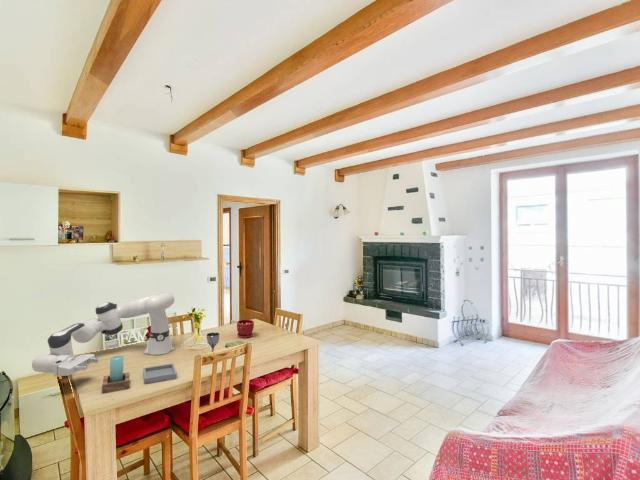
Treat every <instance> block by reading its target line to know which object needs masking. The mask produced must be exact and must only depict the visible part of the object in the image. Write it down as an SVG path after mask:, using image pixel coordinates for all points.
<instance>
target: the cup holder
mask: <svg viewBox="0 0 640 480" xmlns="http://www.w3.org/2000/svg"><path fill="white" fill-rule="evenodd" d="M130 378H131V377H130V372H123V381H117V382H111V383H110V374H109V375H105V376H103V380H102V385H101V393H102V394H106V393H107V394H108V393H111V392H117V391H123V390H129V389H130V387H131V386H130V383H131V382H130Z"/></svg>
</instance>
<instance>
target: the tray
mask: <svg viewBox="0 0 640 480" xmlns="http://www.w3.org/2000/svg"><path fill="white" fill-rule="evenodd" d="M142 372H143V374H142V375H143V383H144V385H149V384H154V383H160V382H164V381H165V382H166V381H172V380H176V378H178V376H177V373H178V372H177V370H176V367H175V364H174V363H167V364H162V365H161V364H160V365H154V366H147V367H143V371H142ZM171 379H172V380H171Z"/></svg>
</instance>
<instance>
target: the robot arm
mask: <svg viewBox="0 0 640 480" xmlns="http://www.w3.org/2000/svg"><path fill="white" fill-rule="evenodd" d="M173 304H175V296H174V295H173V294H172V293H171V292H161V293H157V294H154V295H150V296H147V297H143V298H137V299H134V300H131V301H127V302H124V303H122V304H119V305H118V304H117V303H113V302H109V301H108V302H102V303H101V304H99V305H97V306H96V307H95V314H96V316H97V318H89V319H87V320H86V321H84V322H82V323H81V322H77V323H74V324H72V325H69V326H67V327H66V328H64V329H62V330H60V331H56V332H54V333H52V334H51V335H50V336H49V337H48V338H47V344H48V347H49V353H50V354H43V355H37V356H35V357H34V358H33V360H32V362H31V367H32V370H33V371H34V372H37V373H44V374H45V373H47V374H50V373H52V375H53V377H59V376H60V377H64V376H71V375H73V374H74V373H77V372H80V371H86V370H87V369H88V365H90V364H92V363H94V364H98V363H99V362H100V358H96V356H95V355H96V354H92V353H89V354H80V355H78V356H77V357H75V356H74V349H73V343H72V340H74V341H75V342H77V343H80V344H85V343H89V342H90V341H92V340H93V339H94V338H95V337H96V336H97V335H98V334H99V333H101V334H102V335H107V336H113V335H117V334H118V333H120V332H121V331H122V330H123V328H124V327H123V323H122V320H121V319H129V318H130V319H131V318H136V317H140V316H144V315H147V314H148V315H149V318H150V331H149V339H148V340H146V344H145V345H146V347H145V349H144V352H143V354H144V355H150V356H151V355H152V356H156V355H157V356H159V355H164V354H167V353H170V352H171V351H174V350H175V346H173V345H172V344H173V343H172V340H173V339H172V337H171V336H170V328H169V327H170V324H169V323H170V318H169V316H167V313H166V309H169V308H170V307H171V306H172V305H173Z"/></svg>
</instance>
